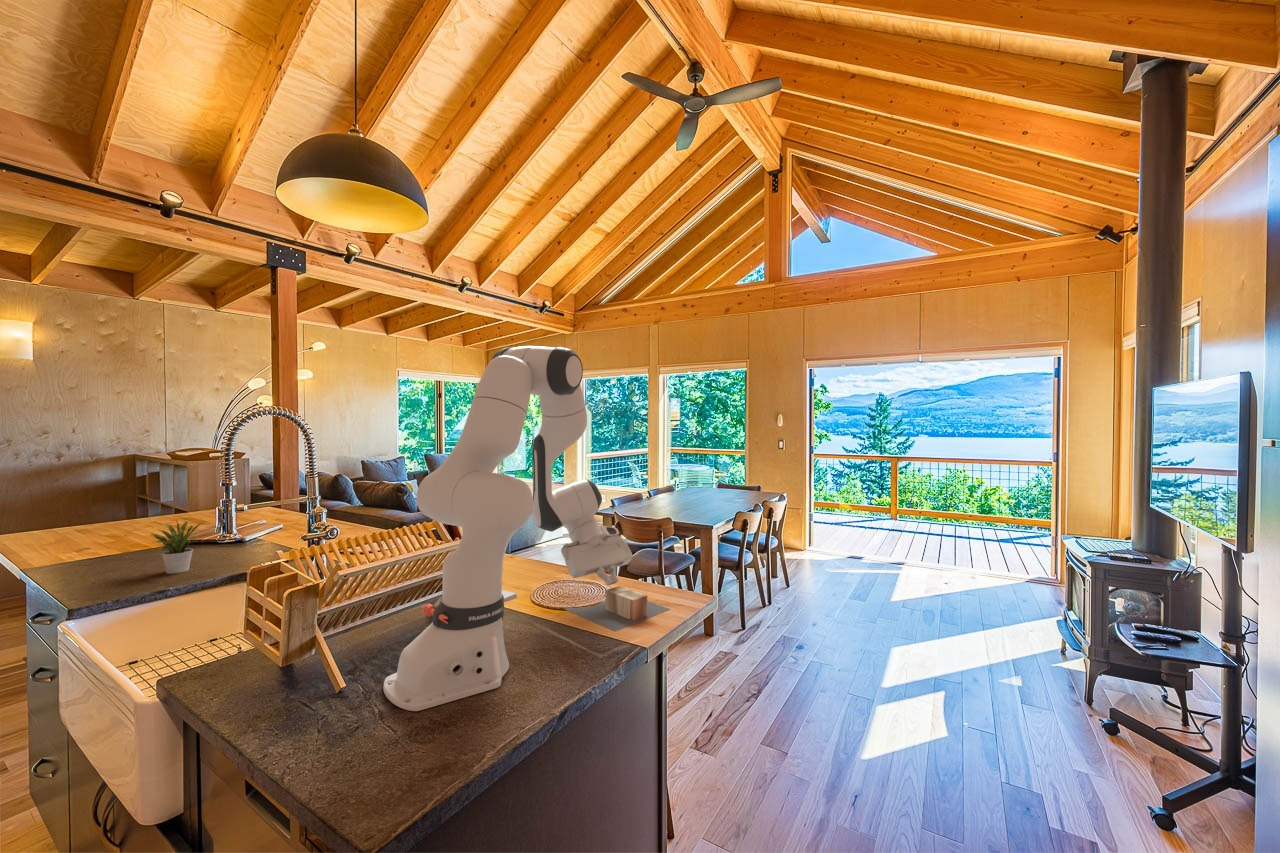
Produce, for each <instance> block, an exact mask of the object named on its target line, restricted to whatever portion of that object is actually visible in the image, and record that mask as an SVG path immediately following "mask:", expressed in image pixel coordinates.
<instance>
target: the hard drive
mask: <svg viewBox="0 0 1280 853" xmlns="http://www.w3.org/2000/svg"><path fill="white" fill-rule="evenodd" d="M502 595H503V596H504V603H506V602H508V601H510V600H512V599H516V598H517V593H515V592H513V591H509V590H504V589H502Z"/></svg>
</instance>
